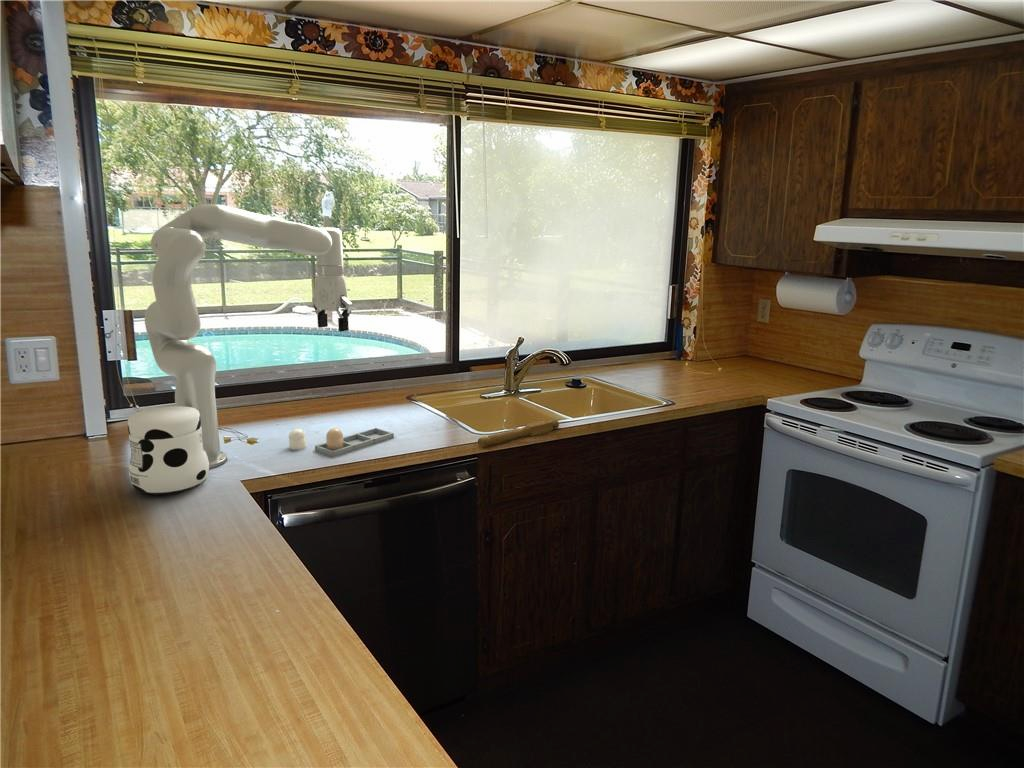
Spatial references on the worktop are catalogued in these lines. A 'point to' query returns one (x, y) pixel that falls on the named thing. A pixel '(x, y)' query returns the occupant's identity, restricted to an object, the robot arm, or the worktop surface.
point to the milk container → (167, 450)
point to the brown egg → (334, 439)
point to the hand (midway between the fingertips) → (333, 328)
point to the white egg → (297, 439)
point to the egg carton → (356, 442)
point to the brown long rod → (519, 432)
